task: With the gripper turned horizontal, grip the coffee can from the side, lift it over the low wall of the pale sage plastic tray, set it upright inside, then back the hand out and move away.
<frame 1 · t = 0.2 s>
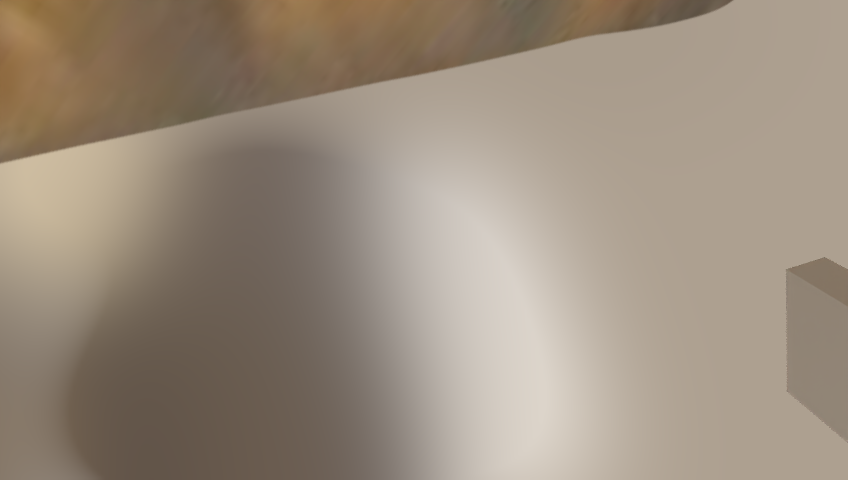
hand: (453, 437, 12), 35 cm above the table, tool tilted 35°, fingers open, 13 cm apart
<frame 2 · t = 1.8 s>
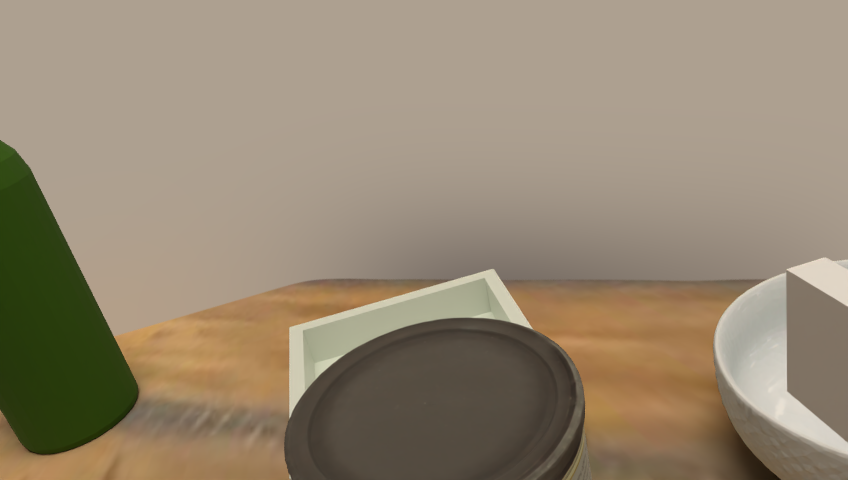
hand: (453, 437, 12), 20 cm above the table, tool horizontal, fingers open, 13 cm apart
wine bottle: (84, 416, 53), on the table
tray: (423, 402, 45), on the table
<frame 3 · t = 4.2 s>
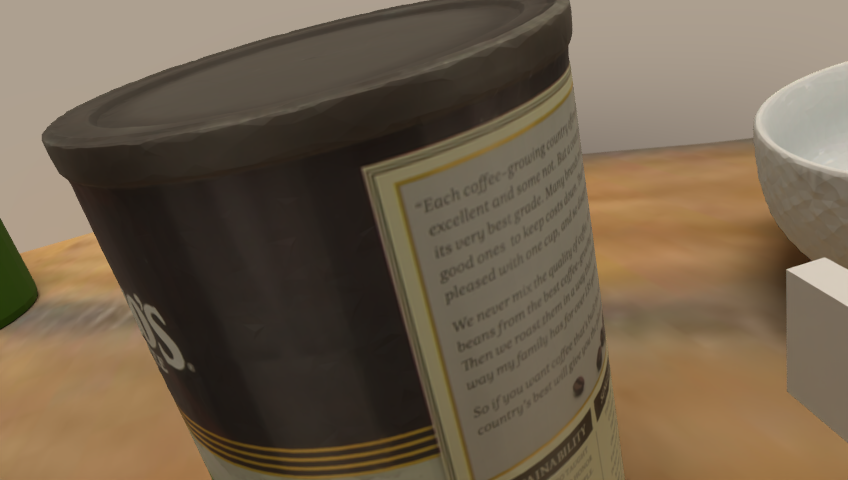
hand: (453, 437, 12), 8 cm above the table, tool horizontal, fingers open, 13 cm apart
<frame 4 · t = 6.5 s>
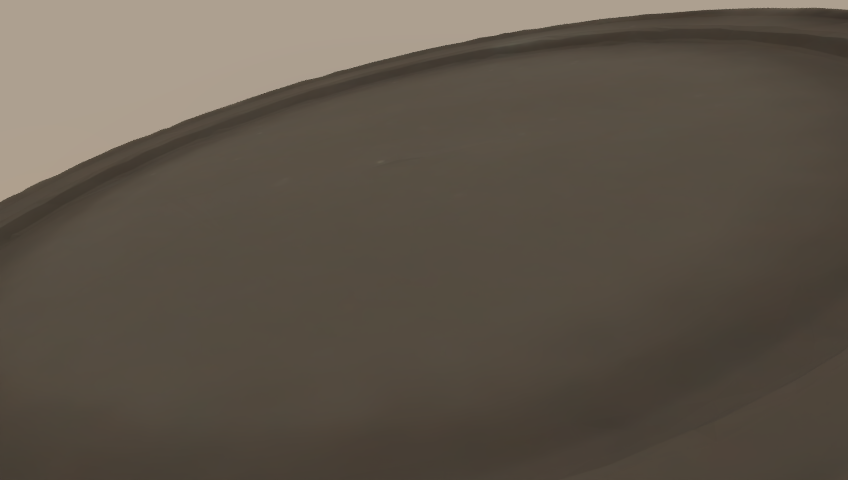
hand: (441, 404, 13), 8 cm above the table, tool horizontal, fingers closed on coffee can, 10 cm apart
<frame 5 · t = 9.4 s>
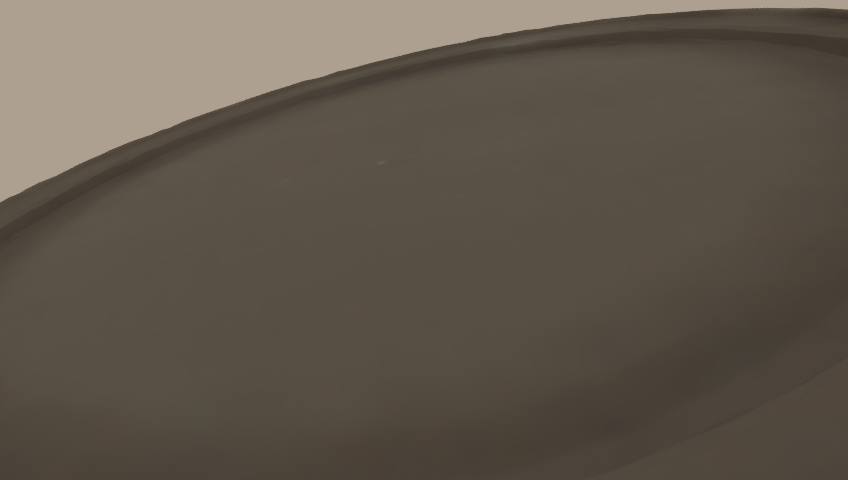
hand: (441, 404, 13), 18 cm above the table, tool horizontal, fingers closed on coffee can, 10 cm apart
when the fingers open (10 cm above the table, at t = 12.2 s): coffee can drops 1 cm, resting on tray.
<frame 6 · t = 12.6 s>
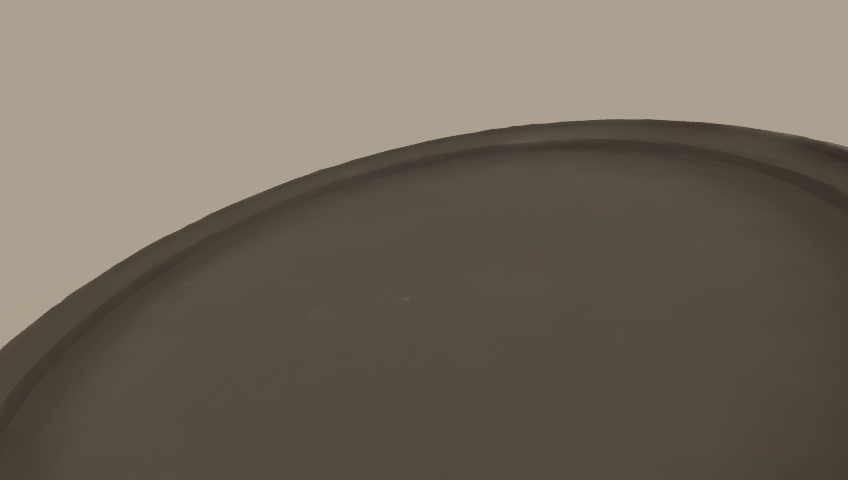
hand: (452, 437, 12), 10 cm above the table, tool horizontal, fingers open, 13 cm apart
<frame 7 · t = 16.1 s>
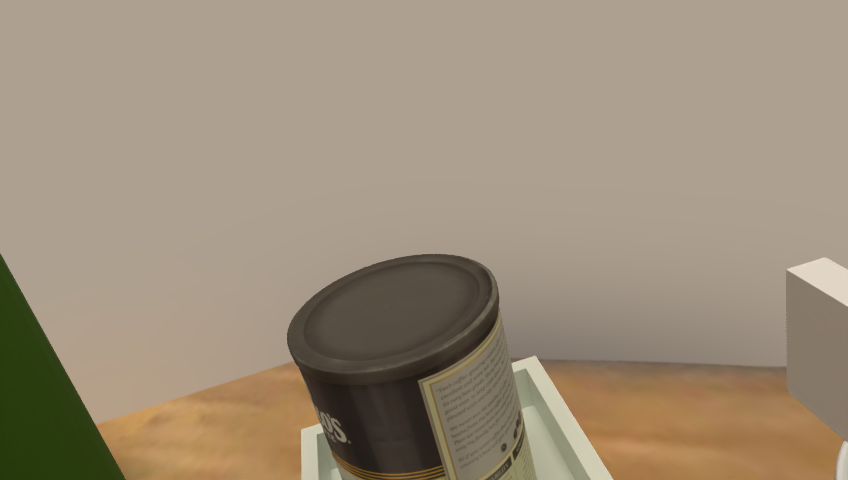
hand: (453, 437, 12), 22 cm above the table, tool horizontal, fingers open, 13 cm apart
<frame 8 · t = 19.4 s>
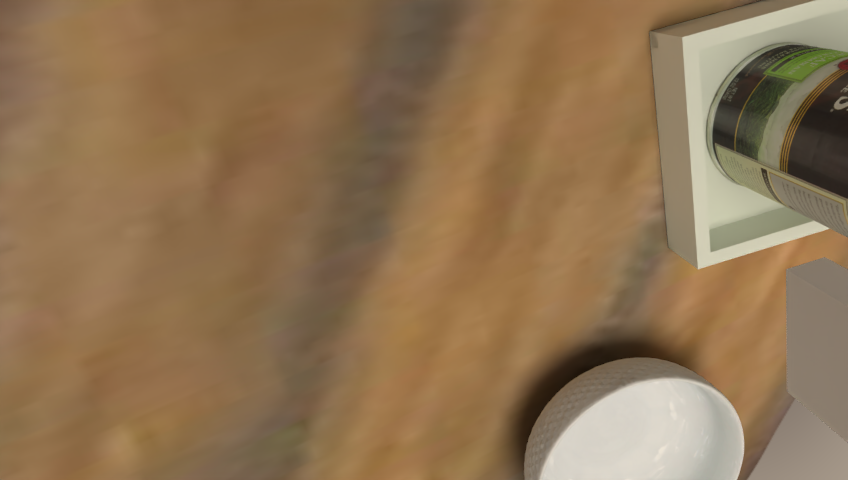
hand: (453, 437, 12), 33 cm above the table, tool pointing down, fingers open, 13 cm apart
cereal bowl: (601, 418, 56), on the table
tray: (763, 116, 48), on the table
coffee can: (770, 118, 47), point 1 cm above the table, touching tray
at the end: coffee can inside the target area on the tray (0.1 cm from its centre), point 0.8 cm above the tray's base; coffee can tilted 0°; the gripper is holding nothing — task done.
